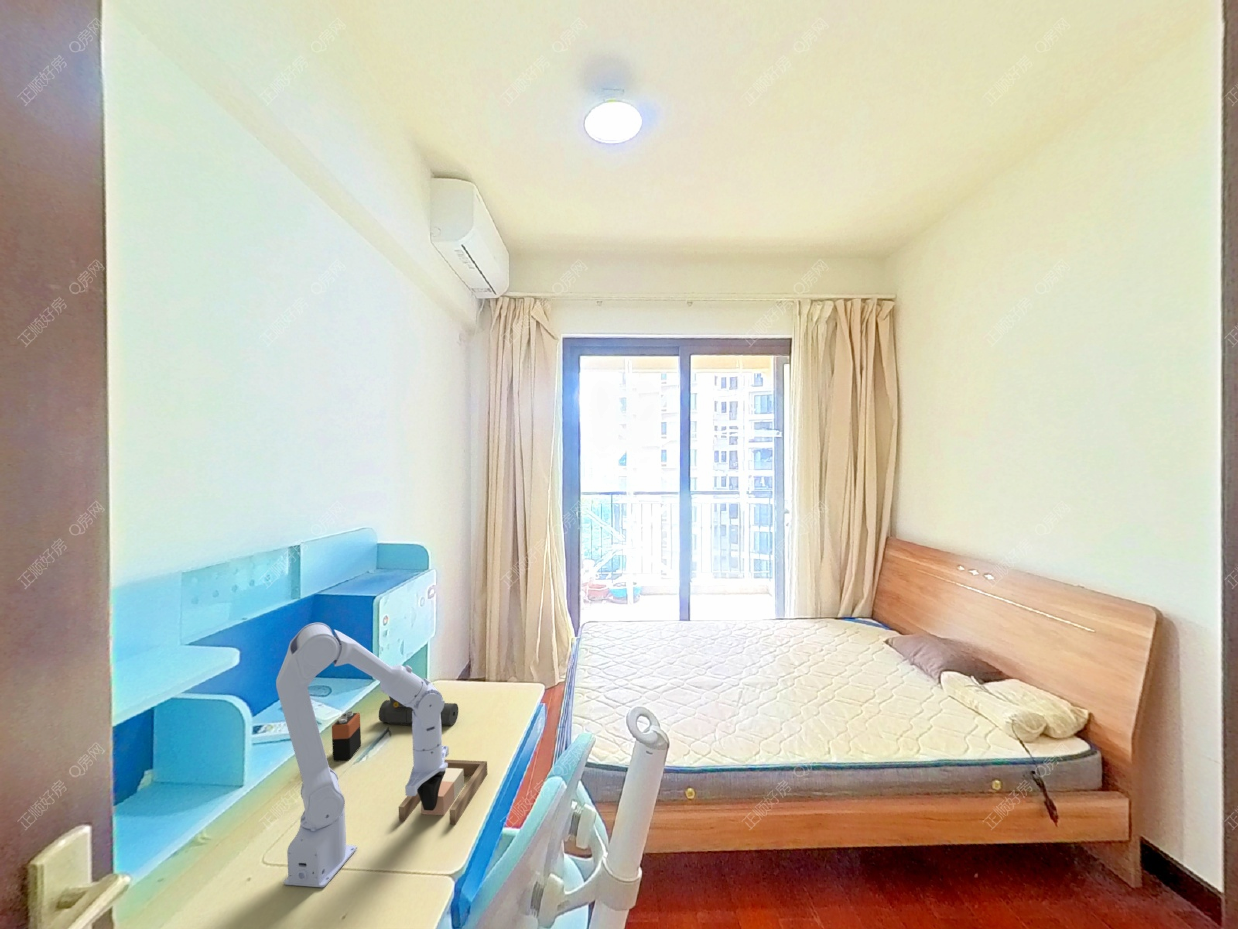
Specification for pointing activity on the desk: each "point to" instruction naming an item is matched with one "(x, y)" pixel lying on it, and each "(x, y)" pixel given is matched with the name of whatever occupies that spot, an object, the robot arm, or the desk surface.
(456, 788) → the tile far
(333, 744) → the battery
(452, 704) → the laser sight
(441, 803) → the pink cube-like block
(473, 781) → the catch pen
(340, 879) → the desk surface
